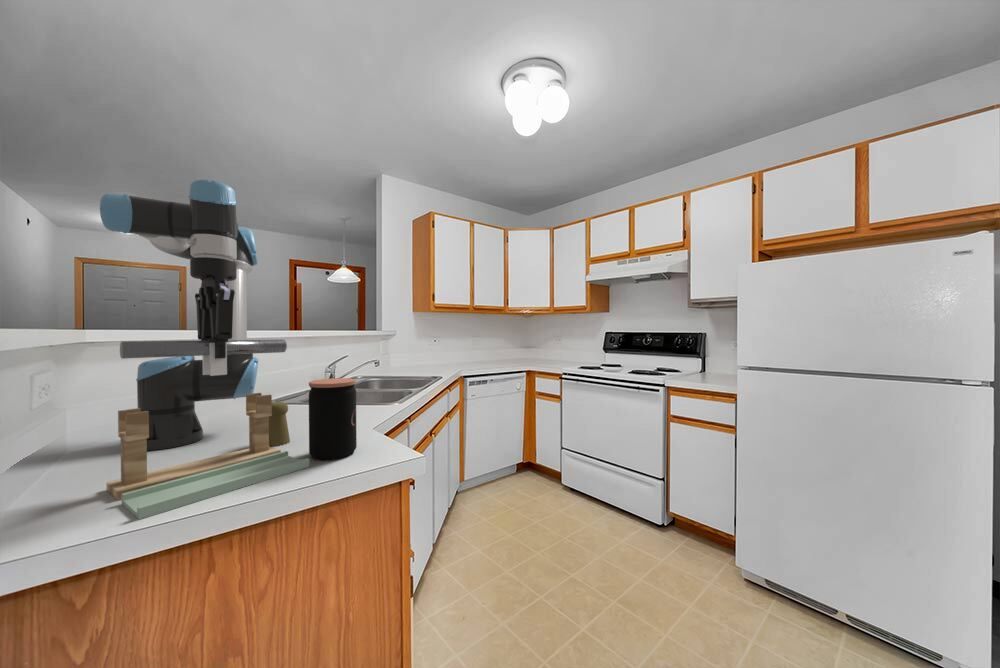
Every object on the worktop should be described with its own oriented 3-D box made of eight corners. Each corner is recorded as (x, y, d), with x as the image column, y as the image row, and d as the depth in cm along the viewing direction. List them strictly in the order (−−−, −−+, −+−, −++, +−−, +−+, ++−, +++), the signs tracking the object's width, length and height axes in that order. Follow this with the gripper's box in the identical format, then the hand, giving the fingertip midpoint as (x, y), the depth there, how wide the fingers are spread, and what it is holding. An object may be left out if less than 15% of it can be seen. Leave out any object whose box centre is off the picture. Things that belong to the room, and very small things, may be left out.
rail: (124, 358, 64) (124, 341, 64) (119, 358, 66) (119, 341, 66) (286, 352, 87) (286, 339, 87) (280, 352, 88) (280, 339, 88)
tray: (121, 504, 66) (121, 493, 66) (286, 458, 89) (286, 450, 89) (139, 519, 60) (138, 508, 60) (309, 466, 83) (309, 458, 83)
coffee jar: (361, 455, 91) (360, 381, 91) (312, 464, 85) (312, 385, 85) (351, 444, 99) (350, 377, 99) (306, 452, 93) (305, 380, 93)
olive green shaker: (278, 447, 98) (277, 405, 98) (258, 445, 99) (258, 404, 99) (295, 440, 104) (294, 400, 103) (276, 439, 105) (276, 400, 105)
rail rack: (106, 490, 71) (105, 411, 71) (264, 450, 95) (264, 391, 95) (117, 500, 67) (116, 416, 67) (280, 456, 90) (280, 394, 90)
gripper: (177, 261, 78) (178, 374, 78) (206, 250, 69) (207, 378, 69) (219, 267, 84) (220, 371, 84) (252, 257, 75) (253, 374, 75)
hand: (214, 374), depth 76 cm, fingers closed on rail, 3 cm apart
